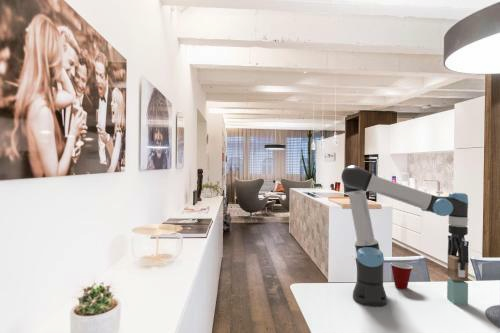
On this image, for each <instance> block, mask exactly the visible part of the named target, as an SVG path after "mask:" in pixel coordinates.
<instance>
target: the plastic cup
mask: <svg viewBox="0 0 500 333" xmlns="http://www.w3.org/2000/svg"><path fill="white" fill-rule="evenodd" d="M390 266H391V271H392V278H393V281H394V283H393V284H394V287H396V288H397V289H400V290H406V289H408V286H409V281H410V277H411V276H410V275H411V272H412V270H413V269H414V267H413V266H412V265H410V264H407V263H402V262H390Z"/></svg>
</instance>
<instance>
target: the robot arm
mask: <svg viewBox="0 0 500 333" xmlns="http://www.w3.org/2000/svg"><path fill="white" fill-rule="evenodd" d="M340 177H341V181H342V184H343V187H344V188H343V189H344V193H345V194H346V195H348V198H349V204H350V205H349V206H350V209H351V215H352V219H353V220H352V221H353V225H354V232H355V236H356V241H355V242H354V247H355V252H356V253H355V254H356V282H355V286H354V288H353V291H352V299H353V300H354V301H355V302H357V303H359V304H362V305H366V306H369V307H383V306H386V305H387V303H388V298H387V293H386V291H385V288H384V262H385V259H384V258H385V257H384V253H383V252H382V250H380V244H379V241H378V240H377V239H375V235H374V229H373V225H372V219H371V218H372V217H371V213H370V209H369V203H368V197H367V194H366V193H367V192H372V193H375V194H377V195H381V196H384V197H386V198H390V199H393V200H396V201H399V202H401V203H405V204H407V205H410V206H413V207H415V208H419V209H420V210H421V211H423V212H430V213H433V214H436V215H437V216H441V217H446V216H448V221H447V222H448V233H449V234H451V235H447V241H448V242H447V256H448V255H454V256H458V257H459V262H458V277H465V263H468V264H469V260H470V259H469V243H470V242H469V241H468V240H466V238H465V236H467V235H468V233H469V232H468V231H469V228H468V225H469V224H468V223H469V222H468V221H469V218H468V216H469V214H468V213H469V212H468V210H469V199H468V198H469V197H468V194H467V193H463V192H449V193H448V196H439V195H438V196H437V195H433V194H431V193H427V192H425V191H421V190H418V189H416V188H413V187H409V186H407V185H404V184H401V183H398V182H394V181H391V180H388V179H386V178H382V177H379V176H376V175H375V174H374V172H371V171H368V170H366V169H365V168H362V167H360V166H358V165H355V164H353V165H352V164H351V165H348V166H346V167H345V168H344V169H343V170H342V172H341V175H340Z"/></svg>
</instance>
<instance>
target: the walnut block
mask: <svg viewBox="0 0 500 333" xmlns="http://www.w3.org/2000/svg"><path fill="white" fill-rule="evenodd" d="M458 262H459V257H458V255H457V256H454V255H448V254H447V274H446V276H447V278H451V279H453V280H458V281H465V282H469V263H465V277H458Z"/></svg>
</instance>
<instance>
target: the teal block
mask: <svg viewBox="0 0 500 333" xmlns="http://www.w3.org/2000/svg"><path fill="white" fill-rule="evenodd" d="M446 282H447V283H446V284H447V288H446V289H447V292H446V298H447V300H448V301H449V302H450V303H451V302H452V303H451V304H453V305H456V306H457V305H458V306H468V305H469V283H468V282H467V281H458V280H453V279H451V278H450V277H447V279H446Z"/></svg>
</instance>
